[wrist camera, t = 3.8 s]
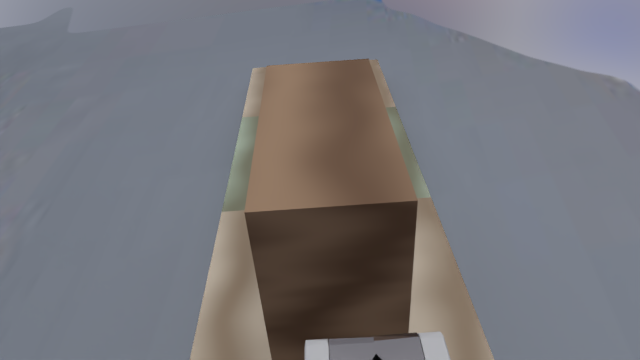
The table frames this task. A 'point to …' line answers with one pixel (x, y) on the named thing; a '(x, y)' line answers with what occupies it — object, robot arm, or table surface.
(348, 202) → the walnut block
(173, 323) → the table surface
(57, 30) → the table surface
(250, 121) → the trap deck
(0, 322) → the table surface
